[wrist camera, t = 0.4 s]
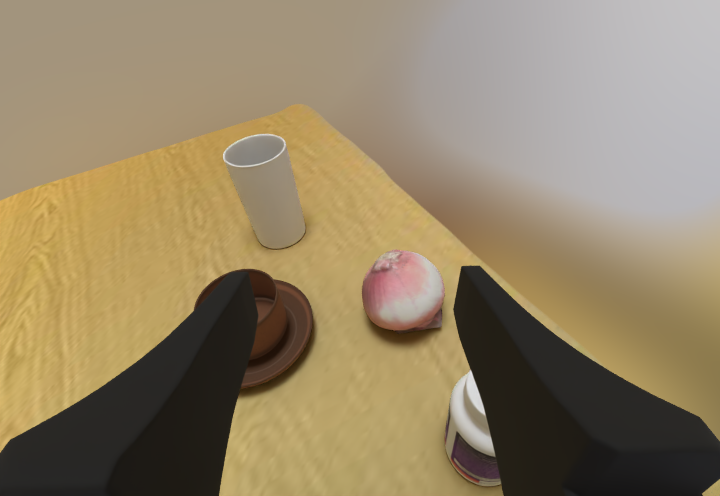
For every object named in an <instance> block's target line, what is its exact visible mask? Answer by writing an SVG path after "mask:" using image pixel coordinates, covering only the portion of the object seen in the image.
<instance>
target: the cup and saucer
mask: <svg viewBox="0 0 720 496" xmlns="http://www.w3.org/2000/svg"><path fill="white" fill-rule="evenodd" d="M232 272H249V277H250V281H251V285H252V289H253V293H254V298H255V302H256V306H257V310H258V314H259V316H258V323H257V329H256V335H255V341H254V345H253V348H252V352H251V355H250V359H249V362H248V365H247V369H246V372H245V375H244V379H243V382H242V385H241V388H248V387H252V386H256V385H259V384H262V383H264V382H267V381H269V380H271V379H273V378H275V377H276V376H278V375H279V374H281V373H282V372H284V371H285V370H286V369H287V368H288V367H290V366H291V365H292V364H293V363H294V362H295V361H296V360H297V358H298V357H299V356H300V354H301V353H302V352H303V350H304V348H305V347H306V345H307V342H308V340H309V338H310V334H311V330H312V323H313V316H312V310H311V306H310V303H309V301H308V299H307V298H306V296H305V295H304V294H303V293H302V292H301V291H300V290H299V289H298V288H296V287H295V286H293V285H291V284H289V283H287V282H284V281H280V280H273V279H272V277H271V276H269V275H268V274H267V273H265V272H263V271H260V270H255V269H241V270H236V271H232ZM229 273H230V272H229ZM229 273H227V274H224V275H222V276H220V277H219V278H217V279H215V280H214V281H213V282H211V283H210V284H209V285H208V286H207V287H206V288H205V289H204V290H203V291H202V292H201V294H200V295H199V297H198V299H197V301H196V303H195V307H194V310H195V309H196V308H197V307H198V306H199V305H200V304H201V303H202V302H203V301H204V300H205V299H206V298H207V296H208V295H209V294H210V293H211V292H212V291H213V290H214V289H215V288H216V287H217V286H218V284H219V283H220V282H221V281H222V280H223V279H224V278H225V277H226V276H227V275H228V274H229Z"/></svg>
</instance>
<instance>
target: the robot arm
mask: <svg viewBox="0 0 720 496" xmlns="http://www.w3.org/2000/svg"><path fill="white" fill-rule="evenodd" d="M453 310H454V315H455V320H456V325H457V329H458V334H459V338H460V341H461V343H462V346H463V349H464V352H465V355H466V358H467V360H468V363H469V366H470V369H471V372H472V374H473V377H474V380H475V383H476V386H477V388H478V391H479V394H480V397H481V400H482V404H483V407H484V410H485V415H486V419H487V423H488V427H489V431H490V435H491V439H492V444H493V448H494V452H495V457H496V461H497V466H498V470H499V475H500V480H501V485H502V490H503V495H504V496H703V495H702V493H703V492H704V491H706V490H707V489H708V488H709V487H710V486H712V485H713V484H714V483H715V482H716V481H718V480H719V479H720V441H719V440H718V439H717V438H716V436H715V435H714V434H713V433H712V431H711V430H710V429H709V428H708V426H707V425H706V424H705V423H704V422H703V421H702V419H701V418H700V417H698V416H696V415H694V414H692V413H690V412H688V411H686V410H684V409H682V408H679V407H677V406H675V405H673V404H671V403H669V402H667V401H665V400H663V399H661V398H658V397H656V396H654V395H652V394H650V393H649V392H647V391H645V390H643V389H641V388H639V387H637V386H635V385H634V384H632V383H630V382H628V381H626V380H624V379H623V378H621V377H619V376H617V375H616V374H614V373H612V372H611V371H609V370H607V369H606V368H604V367H602V366H601V365H599V364H598V363H596V362H594V361H593V360H591V359H590V358H588V357H586V356H585V355H583V354H582V353H580V352H579V351H577V350H576V349H575V348H573V347H572V346H570V345H569V344H568V343H566V342H565V341H563V340H562V339H561V338H559V337H558V336H557V335H555V334H554V333H553V332H551V331H550V330H549V329H547V328H546V327H545V326H544V325H543V324H541V323H540V322H539V321H538V320H537V319H535V318H534V317H533V316H532V315H531V314H530V313H528V312H527V311H526V310H525V309H524V308H523V307H522V306H521V305H519V304H518V303H517V302H516V301H515V300H514V299H513V298H512V297H511V296H510V295H509V294H508V293H507V292H506V291H505V290H504V289H503V288H502V287H501V286H500V285H498V284H497V283H496V282H495V281H494V280H493V279H492V278H491V277H490V276H489V275H488V274H487V273H486V272H485V271H484V270H483V269H482V268H481V267H480V266H462V267H461V272H460V277H459V282H458V288H457V293H456V298H455V304H454V309H453ZM258 316H259V314H258V310H257V306H256V302H255V298H254V293H253V289H252V285H251V281H250V277H249V272H230V273H229V274H228V275H227V276H226V277H225V278H224V279H223V280H222V281H221V282H220V283H219V284H218V286H217V287H216V288H215V289H214V290H213V291H212V292H211V293H210V294H209V295H208V296H207V298H206V299H205V300H204V301H203V302H202V303H201V304H200V305H199V306H198V307H197V308H196V309H195V310H194V311H193V312H192V313H191V314H190V315H189V316H188V317H187V318H186V319H185V320H184V321H183V322H182V323H181V324H180V325H179V326H178V327H177V328H176V329H175V330H174V331H173V332H172V333H171V334H170V335H169V336H167V337H166V338H165V339H164V340H163V341H162V342H161V343H159V344H158V345H157V346H156V347H155V348H154V349H152V350H151V351H150V352H149V353H147V354H146V355H145V356H144V357H142V358H141V359H140V360H139V361H137V362H136V363H135V364H133V365H132V366H130V367H129V368H128V369H126V370H125V371H123V372H122V373H121V374H119V375H118V376H116V377H115V378H114V379H112V380H111V381H109V382H108V383H107V384H105V385H104V386H102V387H101V388H99V389H98V390H96V391H94V392H93V393H91V394H90V395H88V396H87V397H85V398H83V399H82V400H80V401H79V402H77V403H75V404H74V405H72V406H70V407H69V408H67V409H65V410H64V411H62V412H60V413H59V414H57V415H55V416H53V417H51V418H50V419H48V420H46V421H44V422H42V423H40V424H39V425H37V426H35V427H33V428H31V429H30V430H28V431H26V432H24V433H22V434H20V435H18V436H17V437H15V438H13V439H11V440H10V441H9V442H8V443H7V445H6V446H5V447H4V449H3V450H2V451H1V453H0V496H219V491H220V485H221V478H222V472H223V467H224V461H225V455H226V449H227V444H228V439H229V433H230V428H231V423H232V418H233V413H234V410H235V406H236V402H237V398H238V395H239V392H240V389H241V385H242V382H243V379H244V375H245V372H246V369H247V365H248V362H249V359H250V355H251V352H252V348H253V345H254V341H255V335H256V329H257V323H258Z"/></svg>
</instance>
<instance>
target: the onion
mask: <svg viewBox="0 0 720 496" xmlns="http://www.w3.org/2000/svg"><path fill="white" fill-rule="evenodd" d="M444 292H445V288H444V283H443V280H442V277H441V275H440V273H439V271H438V270H437V268H436V267H435V266H434V265H433V264H432V263H431V262H430V261H429V260H428V259H426V258H425V257H423V256H422V255H420V254H418V253H414V252H409V251H400V250H392V251H389V252H386V253H385V254H383V255H381V256H380V257H379V258H378V259H377V260H376V261H375V263H374V264H373V265H372V267H371V268H370V269H369V270H368V272H367V273H366V275H365V278H364V281H363V286H362V299H363V305H364V309H365V311H366V313H367V315H368V317H369V318H370V320H371V321H372V322H373V323H374V324H376V325H377V326H379V327H381V328H385V329H390V330H395V332H396V333H397V334H399V333H405V332H411V331H417V330H423V329H430V328H436V327H442V309H441V305H442V303H443V299H444V296H445V293H444ZM439 309H440V310H439Z"/></svg>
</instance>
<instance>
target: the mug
mask: <svg viewBox="0 0 720 496" xmlns="http://www.w3.org/2000/svg"><path fill="white" fill-rule="evenodd" d="M223 159H224V161H225V164H226V167H227V169H228V172H229V174H230V176H231V179H232V181H233V183H234V185H235V188H236V190H237V192H238V195H239V197H240V199H241V202H242V204H243V206H244V209H245V211H246V213H247V215H248V218H249V220H250V223H251V225H252V227H253V229H254V232H255V234H256V236H257V238H258V240H259V242H260V243H261V244H262V245H263V246H265V247H267V248H272V249H280V248H285V247H288V246H291V245H293V244H295V243H296V242H298V241H299V240H300V239H301V238H302V237H303V235H304V233H305V229H306V227H305V222H304V217H303V212H302V208H301V204H300V200H299V196H298V192H297V187H296V183H295V179H294V175H293V170H292V166H291V162H290V158H289V154H288V150H287V147H286V143H285V141H284V139H283V138H281V137H279V136H277V135H272V134H259V135H253V136H249V137H246V138H243V139H240V140H238V141H236V142H235V143H233V144H232V145H230V146H229V147H228V148H227V149H226V150H225V152H224V154H223Z"/></svg>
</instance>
